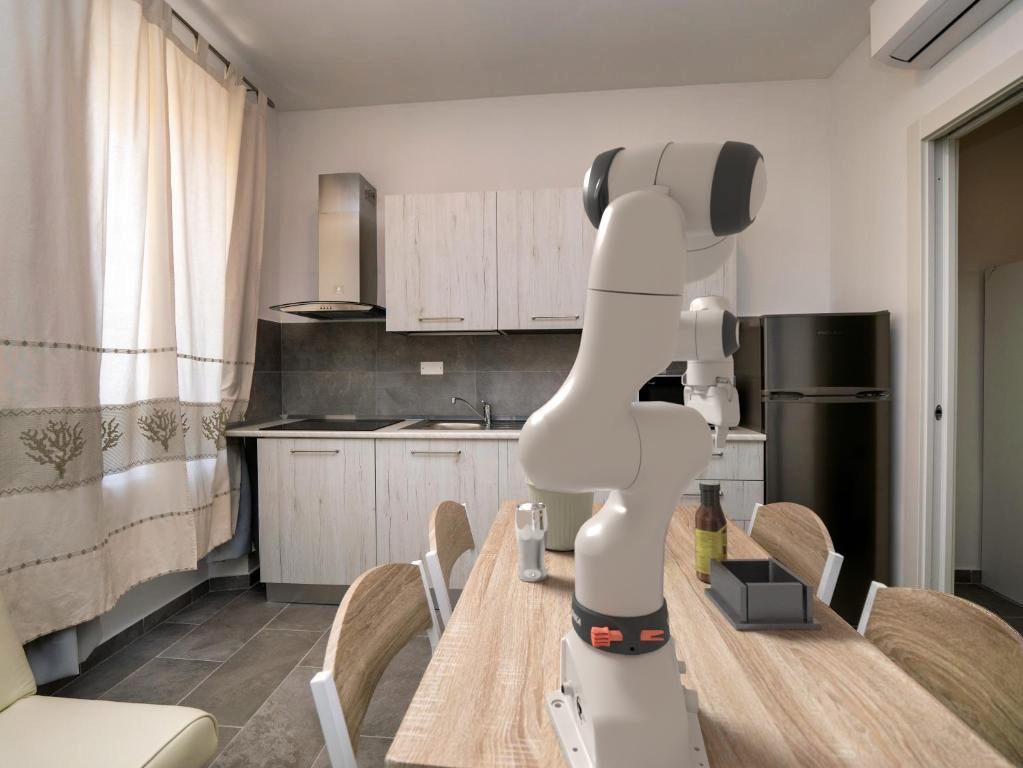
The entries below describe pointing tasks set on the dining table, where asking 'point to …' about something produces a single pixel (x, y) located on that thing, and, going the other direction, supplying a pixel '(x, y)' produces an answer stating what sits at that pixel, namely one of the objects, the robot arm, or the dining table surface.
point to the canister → (563, 515)
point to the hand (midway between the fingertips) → (710, 444)
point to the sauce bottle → (709, 530)
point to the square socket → (761, 595)
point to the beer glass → (531, 540)
